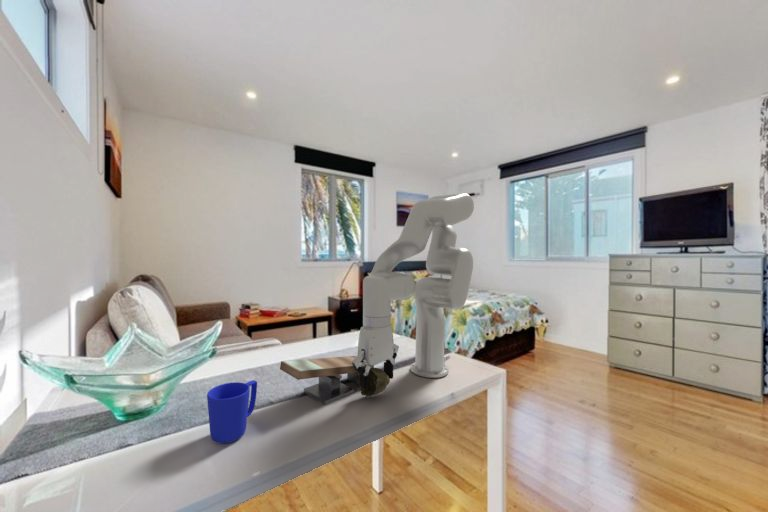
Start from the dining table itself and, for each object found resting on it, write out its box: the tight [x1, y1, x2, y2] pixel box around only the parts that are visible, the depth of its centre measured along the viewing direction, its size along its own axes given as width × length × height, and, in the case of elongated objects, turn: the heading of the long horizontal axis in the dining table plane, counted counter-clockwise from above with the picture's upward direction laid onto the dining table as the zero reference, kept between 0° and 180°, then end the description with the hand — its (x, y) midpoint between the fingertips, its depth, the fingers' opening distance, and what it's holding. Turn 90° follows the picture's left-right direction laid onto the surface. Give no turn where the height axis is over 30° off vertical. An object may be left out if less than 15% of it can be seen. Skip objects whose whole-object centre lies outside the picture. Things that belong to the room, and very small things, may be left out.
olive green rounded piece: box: [357, 367, 391, 398], centre depth 88 cm, size 8×7×8 cm
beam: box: [279, 355, 375, 380], centre depth 89 cm, size 26×10×3 cm, turn 136°
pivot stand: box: [303, 372, 360, 405], centre depth 92 cm, size 18×10×5 cm, turn 136°
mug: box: [206, 379, 258, 444], centre depth 70 cm, size 8×12×10 cm
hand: (376, 382), depth 88 cm, fingers closed on olive green rounded piece, 8 cm apart
